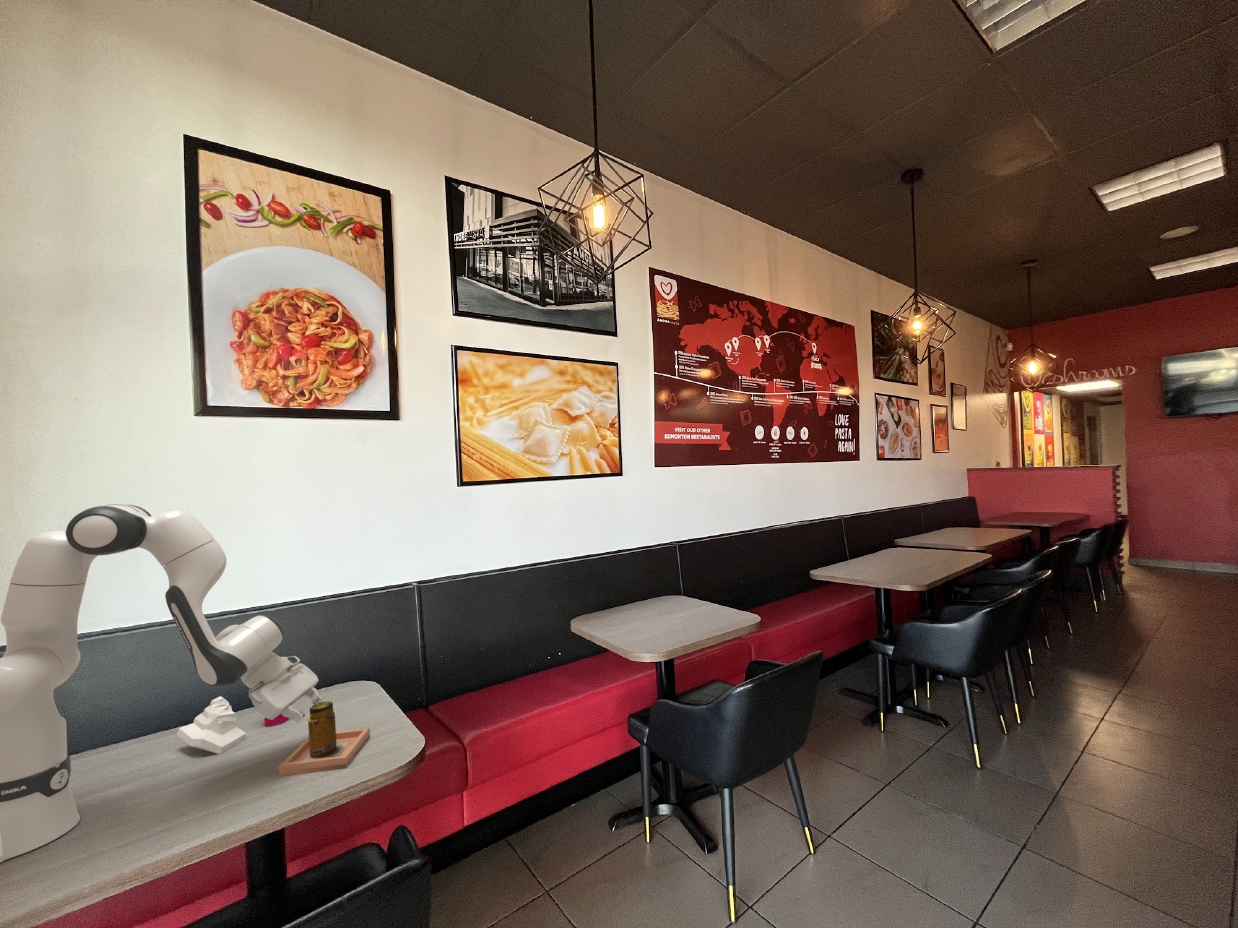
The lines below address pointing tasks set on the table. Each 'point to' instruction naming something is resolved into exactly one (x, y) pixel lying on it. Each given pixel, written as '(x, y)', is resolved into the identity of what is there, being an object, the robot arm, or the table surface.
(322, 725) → the condiment
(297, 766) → the tray
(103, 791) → the table surface
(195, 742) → the white stepped rock sculpture
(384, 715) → the table surface
